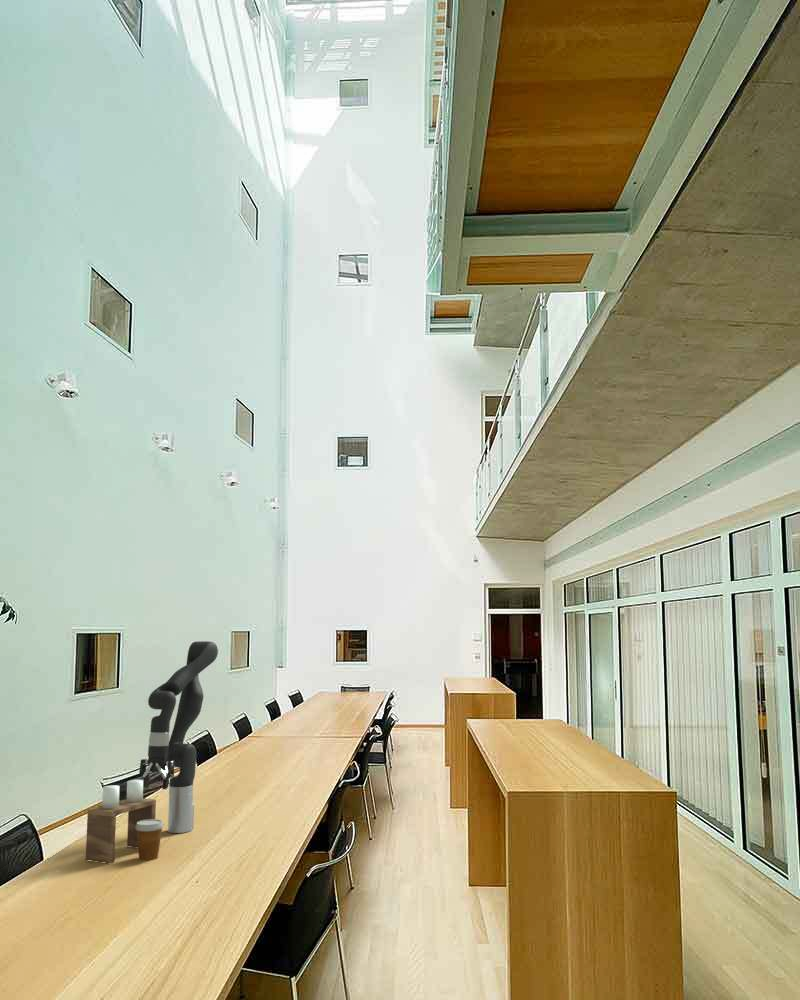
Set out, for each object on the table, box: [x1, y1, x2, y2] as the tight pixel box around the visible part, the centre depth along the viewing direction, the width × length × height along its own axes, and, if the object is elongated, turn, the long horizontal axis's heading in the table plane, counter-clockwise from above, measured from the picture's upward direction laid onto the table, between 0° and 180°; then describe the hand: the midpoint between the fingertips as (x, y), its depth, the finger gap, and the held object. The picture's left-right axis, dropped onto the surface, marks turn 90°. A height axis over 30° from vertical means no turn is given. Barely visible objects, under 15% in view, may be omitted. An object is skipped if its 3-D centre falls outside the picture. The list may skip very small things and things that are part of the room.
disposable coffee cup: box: [135, 818, 165, 861], centre depth 290 cm, size 10×10×12 cm
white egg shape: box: [126, 779, 144, 803], centre depth 303 cm, size 6×6×7 cm
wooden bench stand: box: [85, 797, 157, 864], centre depth 296 cm, size 22×11×17 cm, turn 155°
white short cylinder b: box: [101, 784, 121, 809], centre depth 292 cm, size 6×6×7 cm
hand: (155, 788), depth 318 cm, fingers open, 8 cm apart
